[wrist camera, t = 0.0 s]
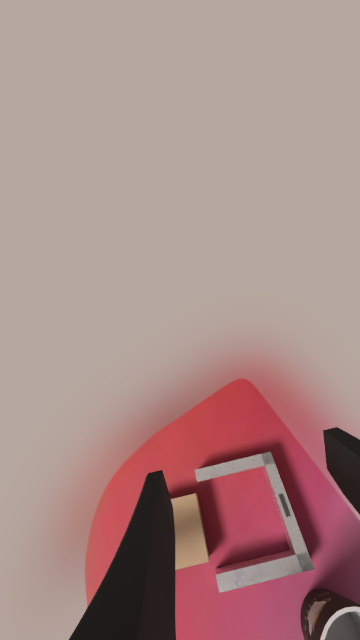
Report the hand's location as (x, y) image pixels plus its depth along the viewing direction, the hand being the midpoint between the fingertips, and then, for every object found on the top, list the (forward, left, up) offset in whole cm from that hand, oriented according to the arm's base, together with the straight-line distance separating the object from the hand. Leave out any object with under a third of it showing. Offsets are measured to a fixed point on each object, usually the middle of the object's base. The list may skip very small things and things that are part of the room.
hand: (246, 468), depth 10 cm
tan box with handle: (-4, +7, -32) cm, 33 cm away
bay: (-4, -1, -32) cm, 32 cm away
